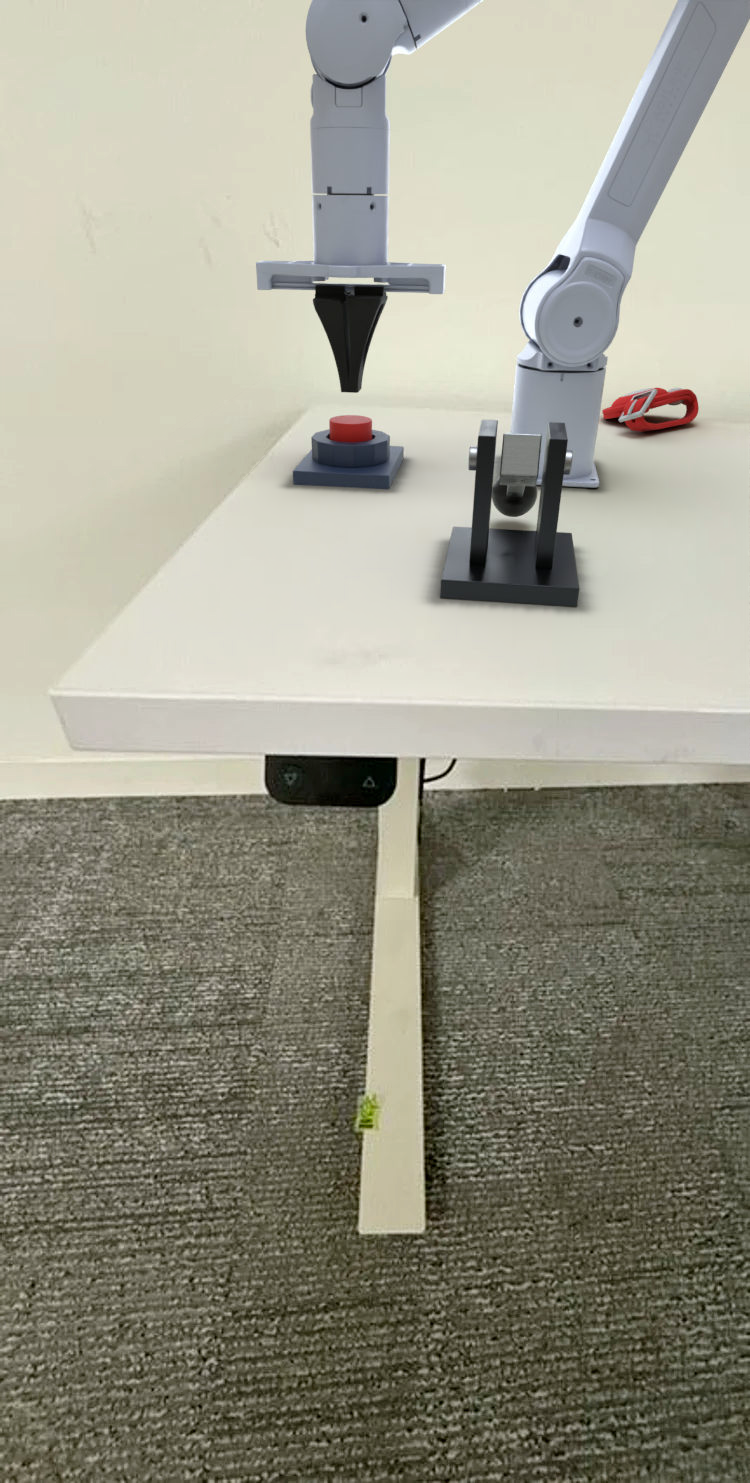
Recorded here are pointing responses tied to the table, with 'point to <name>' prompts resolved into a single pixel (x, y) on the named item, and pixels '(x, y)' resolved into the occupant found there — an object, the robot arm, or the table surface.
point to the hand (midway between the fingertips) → (351, 390)
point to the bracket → (514, 537)
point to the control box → (350, 462)
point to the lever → (517, 474)
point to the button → (350, 428)
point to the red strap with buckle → (651, 407)
